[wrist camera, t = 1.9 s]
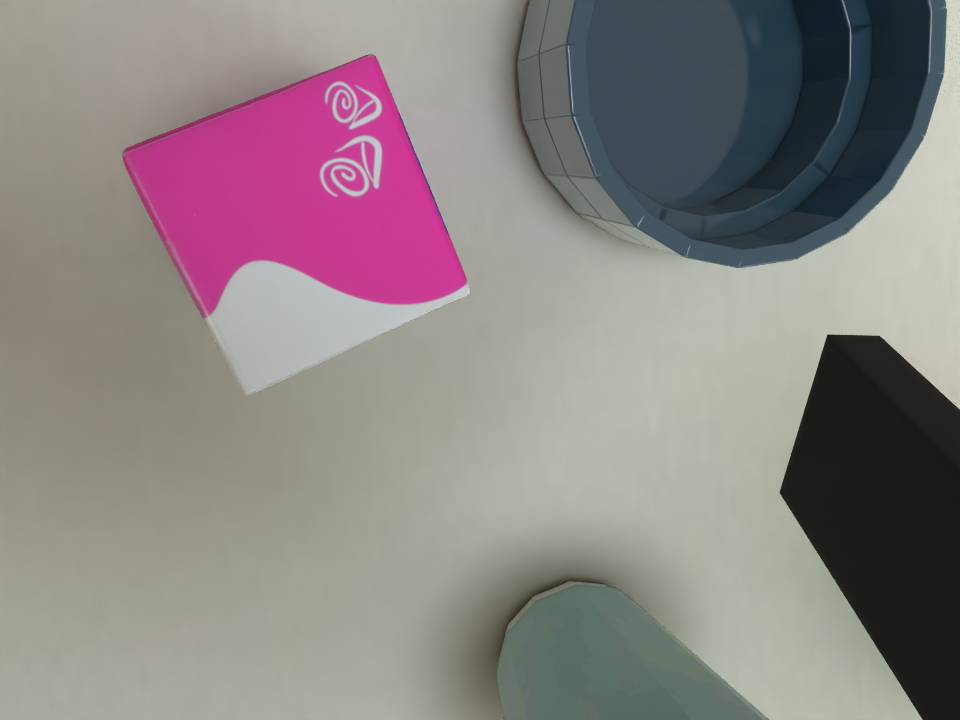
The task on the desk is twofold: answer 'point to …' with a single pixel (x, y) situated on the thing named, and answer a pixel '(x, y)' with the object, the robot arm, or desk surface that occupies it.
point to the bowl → (729, 116)
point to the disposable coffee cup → (605, 664)
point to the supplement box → (299, 222)
